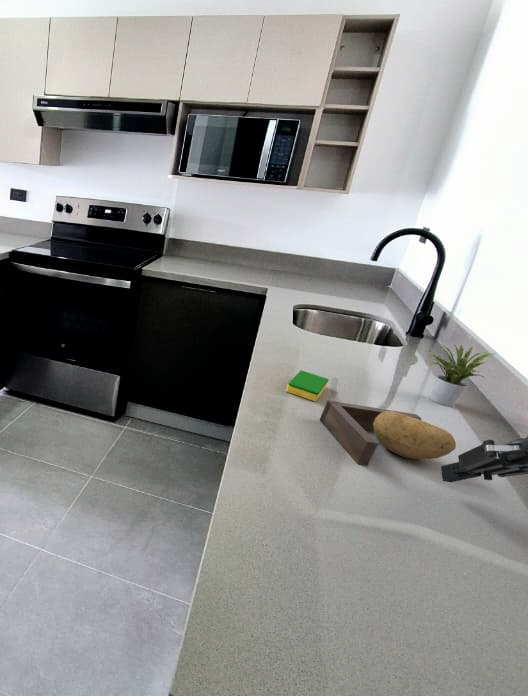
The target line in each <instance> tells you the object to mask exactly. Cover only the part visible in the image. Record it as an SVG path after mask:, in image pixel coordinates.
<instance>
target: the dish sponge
mask: <svg viewBox="0 0 528 696" xmlns="http://www.w3.org/2000/svg"><path fill="white" fill-rule="evenodd" d="M328 383H329V378H327V377H324V376H320V375H317V374H314V373H311V372H307V371H305V370H302V369H301V370H299V371H298V372H297V373H296V375H295V376H294V377H293V378H291V380H290V381H289V382H288V384H287V387H286V389H285V392H287V393H289V394H292V395H295V396H298V397H300V398H304V399H307V400H309V401H312V402H317V400H318V399H319V398H320V396H321V395H322V394H323V392H324V391H325V389H326V387H327V385H328Z"/></svg>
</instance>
